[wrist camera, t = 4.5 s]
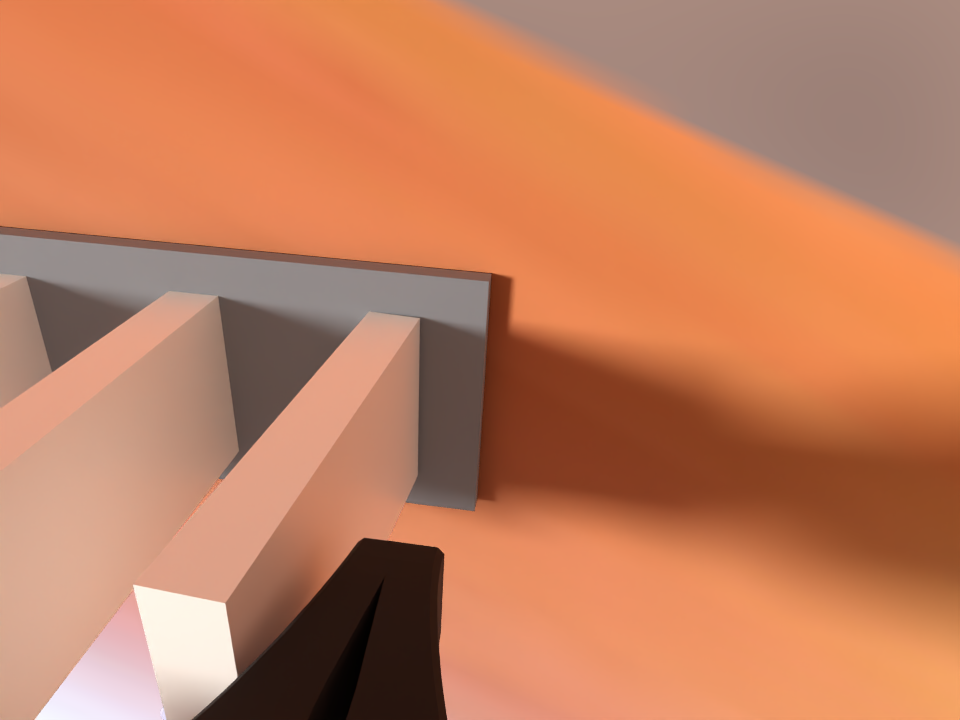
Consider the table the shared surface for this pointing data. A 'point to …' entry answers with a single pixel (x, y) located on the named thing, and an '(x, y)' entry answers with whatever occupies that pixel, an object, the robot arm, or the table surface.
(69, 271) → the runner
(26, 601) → the tile
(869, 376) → the table surface
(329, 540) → the tile
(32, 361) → the tile
